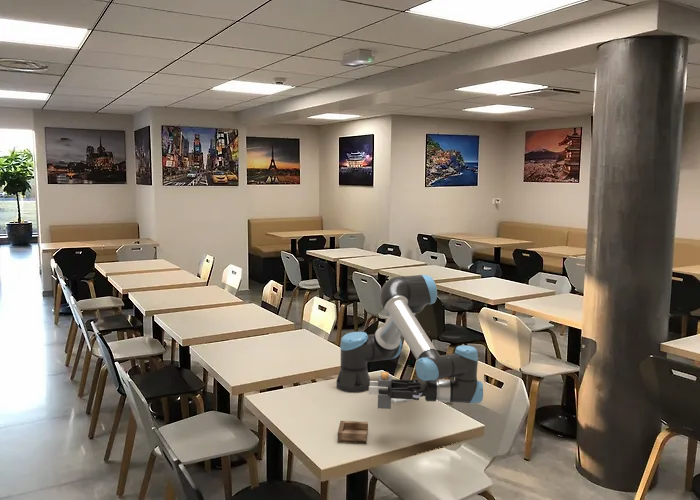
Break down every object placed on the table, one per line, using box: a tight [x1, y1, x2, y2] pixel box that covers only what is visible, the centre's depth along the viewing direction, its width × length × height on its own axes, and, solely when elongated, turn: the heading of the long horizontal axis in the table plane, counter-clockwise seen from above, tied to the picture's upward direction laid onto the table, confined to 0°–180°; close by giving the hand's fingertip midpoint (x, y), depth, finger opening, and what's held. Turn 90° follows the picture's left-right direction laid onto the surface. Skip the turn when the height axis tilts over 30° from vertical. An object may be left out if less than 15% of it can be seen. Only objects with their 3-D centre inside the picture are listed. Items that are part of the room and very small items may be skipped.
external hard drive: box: [391, 398, 414, 405], centre depth 238 cm, size 2×8×12 cm
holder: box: [336, 420, 369, 445], centre depth 200 cm, size 10×10×4 cm
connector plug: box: [377, 371, 393, 410], centre depth 197 cm, size 4×4×12 cm
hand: (369, 387), depth 198 cm, fingers closed on connector plug, 4 cm apart
